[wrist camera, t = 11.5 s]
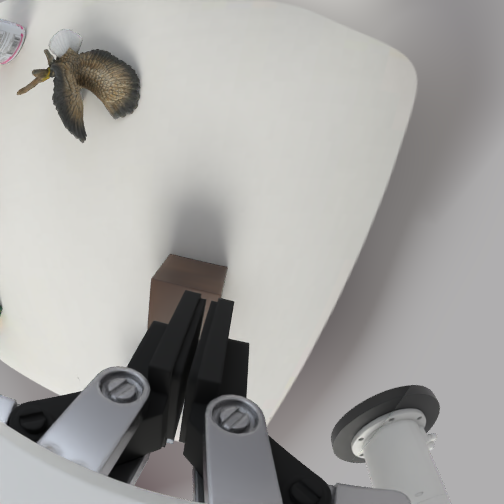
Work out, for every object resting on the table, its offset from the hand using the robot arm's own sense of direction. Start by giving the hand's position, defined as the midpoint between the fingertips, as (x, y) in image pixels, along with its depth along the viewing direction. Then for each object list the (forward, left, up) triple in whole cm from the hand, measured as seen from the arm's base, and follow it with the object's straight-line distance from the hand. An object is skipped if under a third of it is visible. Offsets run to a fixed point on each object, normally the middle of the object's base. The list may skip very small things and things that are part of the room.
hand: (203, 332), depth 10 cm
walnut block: (+2, +6, -15) cm, 16 cm away
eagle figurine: (+14, -9, -15) cm, 23 cm away
